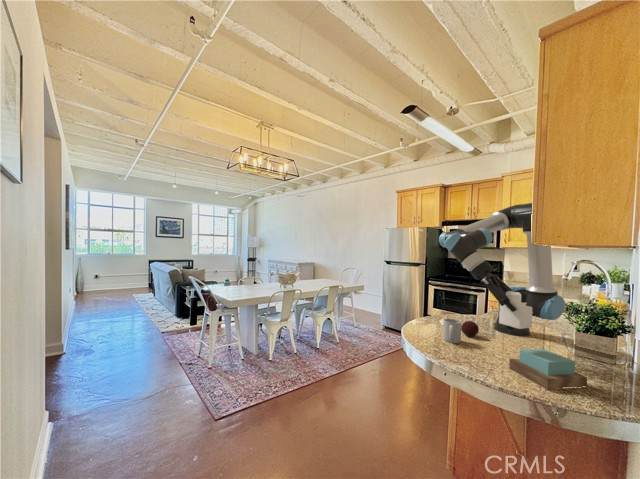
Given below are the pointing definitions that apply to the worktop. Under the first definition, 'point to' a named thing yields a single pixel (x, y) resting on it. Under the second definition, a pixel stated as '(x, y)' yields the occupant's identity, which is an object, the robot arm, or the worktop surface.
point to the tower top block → (547, 362)
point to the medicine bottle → (508, 317)
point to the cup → (452, 330)
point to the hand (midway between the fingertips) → (526, 316)
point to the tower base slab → (547, 376)
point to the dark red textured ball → (469, 328)
